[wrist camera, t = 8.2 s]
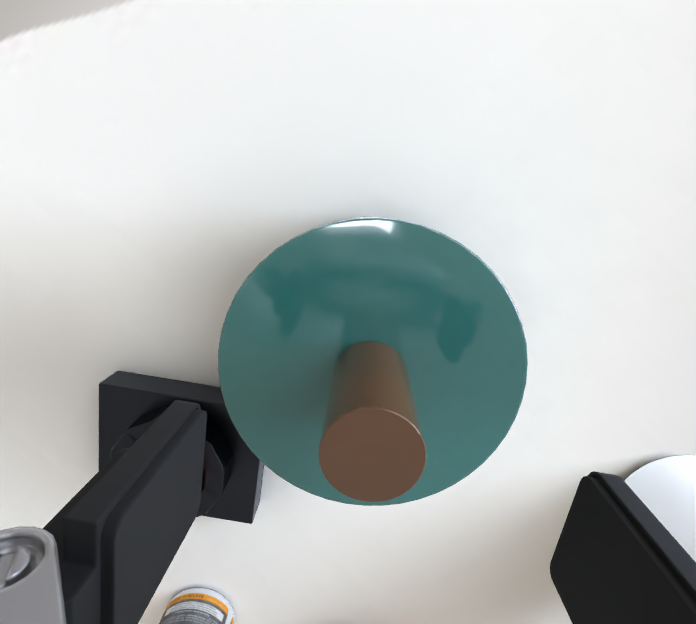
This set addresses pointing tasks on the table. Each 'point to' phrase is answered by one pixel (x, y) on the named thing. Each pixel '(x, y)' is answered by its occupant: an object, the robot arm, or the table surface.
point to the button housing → (220, 441)
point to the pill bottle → (198, 608)
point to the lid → (372, 361)
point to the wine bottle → (670, 496)
